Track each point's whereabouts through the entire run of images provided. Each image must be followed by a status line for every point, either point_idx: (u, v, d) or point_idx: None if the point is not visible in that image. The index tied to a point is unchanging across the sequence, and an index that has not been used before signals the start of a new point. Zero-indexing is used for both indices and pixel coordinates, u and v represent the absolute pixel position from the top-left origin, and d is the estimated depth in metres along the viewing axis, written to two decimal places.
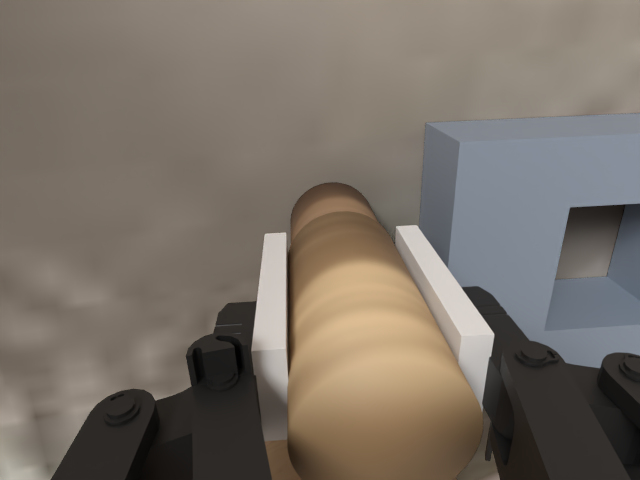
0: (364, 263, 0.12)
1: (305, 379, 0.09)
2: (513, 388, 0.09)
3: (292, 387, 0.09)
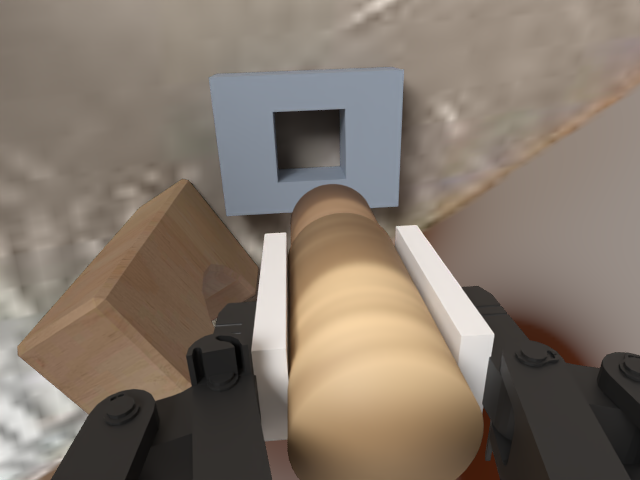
0: (364, 265, 0.12)
1: (305, 381, 0.09)
2: (513, 388, 0.09)
3: (292, 390, 0.09)
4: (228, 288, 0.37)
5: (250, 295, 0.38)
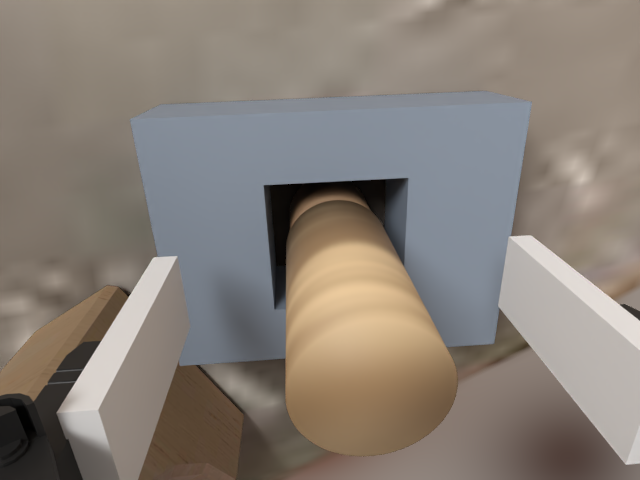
0: (355, 244, 0.13)
1: (302, 340, 0.10)
2: None
3: (290, 349, 0.11)
4: None
5: None
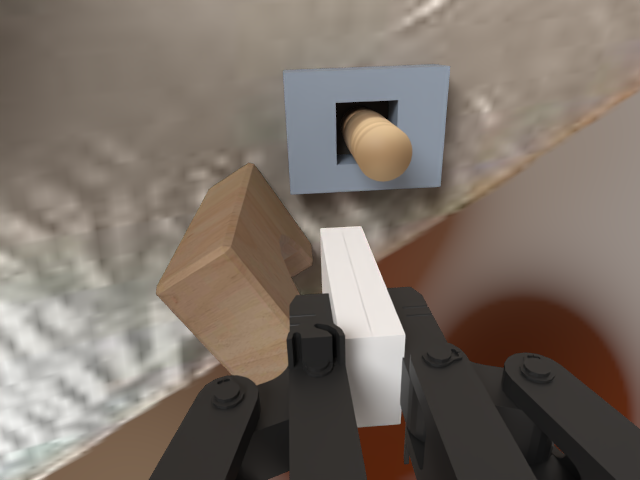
0: (377, 117, 0.34)
1: (362, 136, 0.31)
2: (422, 393, 0.09)
3: (357, 142, 0.32)
4: (289, 258, 0.42)
5: (308, 265, 0.43)
